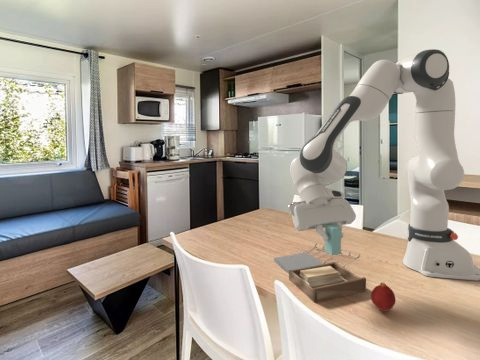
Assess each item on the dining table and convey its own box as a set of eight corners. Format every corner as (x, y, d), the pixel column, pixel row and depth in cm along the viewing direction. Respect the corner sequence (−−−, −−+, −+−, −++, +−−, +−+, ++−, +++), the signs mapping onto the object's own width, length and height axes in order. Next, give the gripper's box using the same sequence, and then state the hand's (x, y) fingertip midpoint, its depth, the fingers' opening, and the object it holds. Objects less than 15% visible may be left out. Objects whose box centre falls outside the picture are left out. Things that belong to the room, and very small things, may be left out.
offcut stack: (296, 279, 99) (296, 270, 98) (330, 272, 103) (330, 263, 102) (307, 288, 93) (307, 278, 92) (342, 280, 97) (342, 271, 97)
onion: (380, 302, 84) (381, 275, 83) (399, 312, 79) (401, 284, 78) (365, 308, 81) (366, 280, 80) (385, 319, 76) (386, 290, 75)
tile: (274, 260, 114) (274, 257, 114) (306, 255, 118) (306, 252, 118) (292, 276, 101) (292, 273, 101) (328, 269, 105) (328, 266, 105)
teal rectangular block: (324, 251, 91) (325, 225, 90) (333, 249, 92) (333, 224, 91) (332, 255, 88) (332, 228, 87) (340, 253, 89) (341, 227, 88)
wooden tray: (288, 279, 99) (288, 267, 99) (334, 270, 105) (334, 259, 104) (314, 302, 85) (314, 289, 84) (365, 290, 90) (366, 278, 90)
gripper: (290, 197, 91) (307, 238, 83) (346, 191, 97) (367, 229, 90) (283, 208, 96) (299, 248, 88) (338, 202, 102) (357, 239, 94)
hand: (334, 238), depth 89 cm, fingers closed on teal rectangular block, 3 cm apart
